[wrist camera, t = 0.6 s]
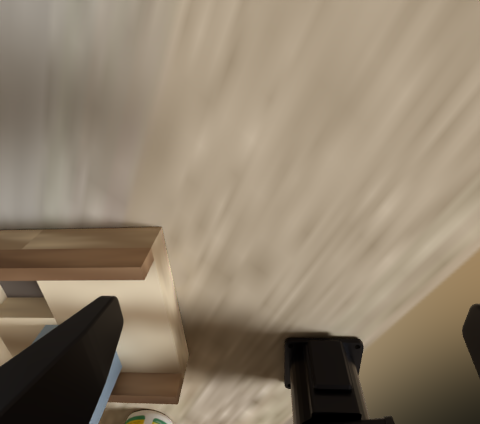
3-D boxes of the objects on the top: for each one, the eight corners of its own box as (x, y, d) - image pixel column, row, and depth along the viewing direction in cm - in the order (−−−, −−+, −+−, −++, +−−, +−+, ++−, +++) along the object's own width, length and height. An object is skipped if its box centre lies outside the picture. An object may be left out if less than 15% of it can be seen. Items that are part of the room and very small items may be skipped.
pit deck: (189, 355, 30) (177, 404, 26) (-12, 352, 32) (-50, 397, 28) (161, 227, 23) (141, 267, 19) (-92, 231, 25) (-157, 269, 21)
